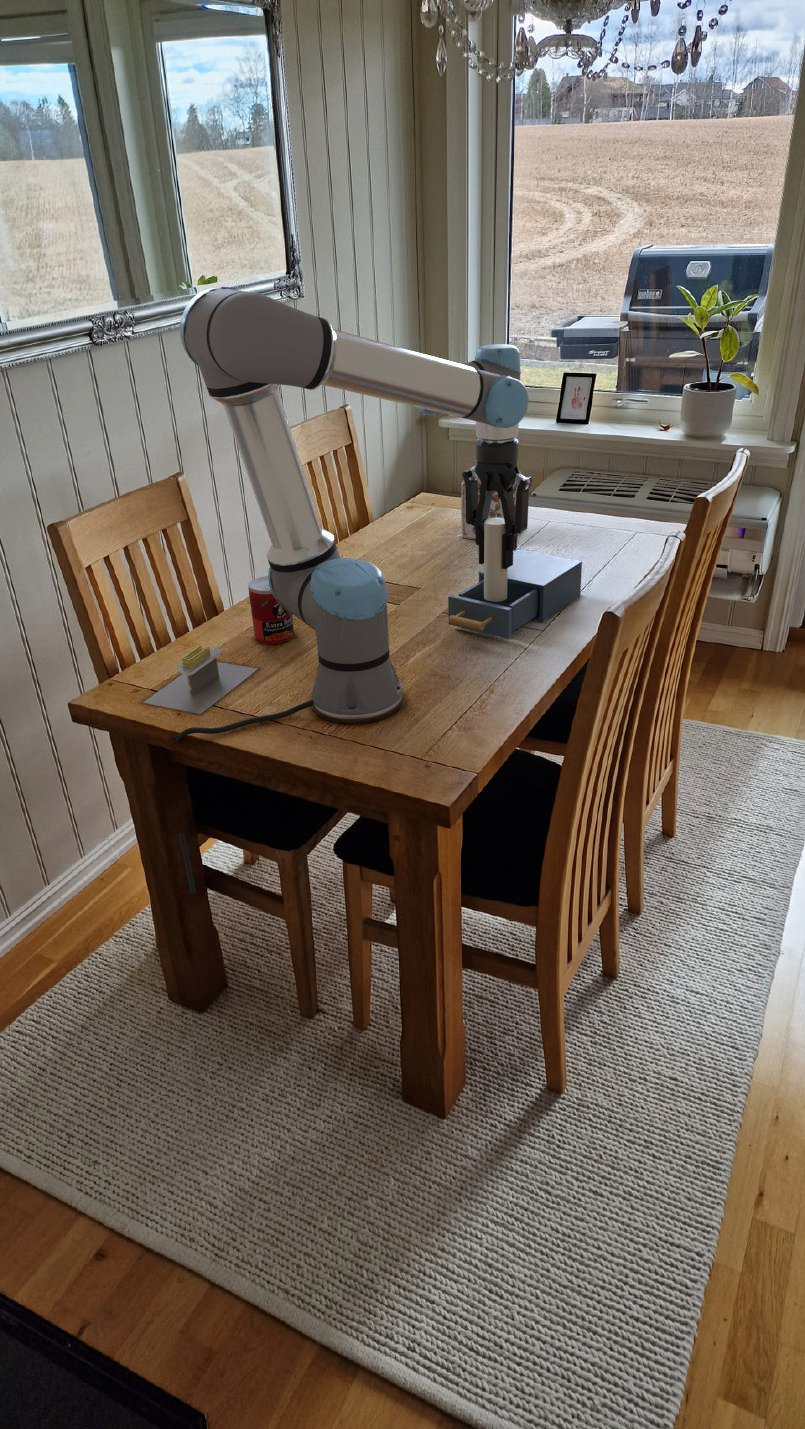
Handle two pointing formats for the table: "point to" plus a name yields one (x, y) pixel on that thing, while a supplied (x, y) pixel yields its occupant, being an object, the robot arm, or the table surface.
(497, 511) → the decorative jar
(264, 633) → the canned food
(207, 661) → the platform
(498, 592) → the candle
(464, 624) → the drawer
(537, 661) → the table surface
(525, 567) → the cabinet
